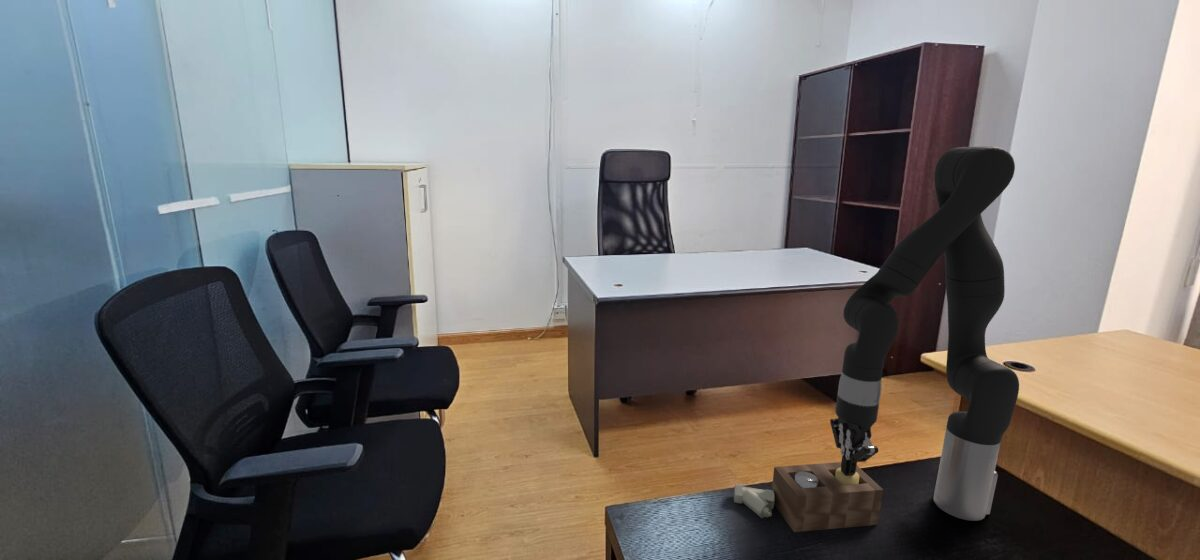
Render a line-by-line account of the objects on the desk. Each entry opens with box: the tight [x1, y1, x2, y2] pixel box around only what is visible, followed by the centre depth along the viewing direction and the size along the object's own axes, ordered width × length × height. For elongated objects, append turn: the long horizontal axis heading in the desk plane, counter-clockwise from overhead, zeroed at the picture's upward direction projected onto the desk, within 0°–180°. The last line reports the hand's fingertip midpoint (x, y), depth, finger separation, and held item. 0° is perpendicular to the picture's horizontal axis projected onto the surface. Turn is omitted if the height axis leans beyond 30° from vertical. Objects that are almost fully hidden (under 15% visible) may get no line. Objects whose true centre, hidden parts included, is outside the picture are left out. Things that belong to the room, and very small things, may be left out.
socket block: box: [771, 461, 884, 533], centre depth 107 cm, size 18×10×8 cm, turn 98°
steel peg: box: [795, 472, 818, 488], centre depth 107 cm, size 4×4×8 cm
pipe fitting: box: [733, 484, 775, 519], centre depth 109 cm, size 8×4×7 cm
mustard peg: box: [835, 468, 859, 485], centre depth 108 cm, size 4×4×8 cm
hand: (847, 473), depth 107 cm, fingers closed
